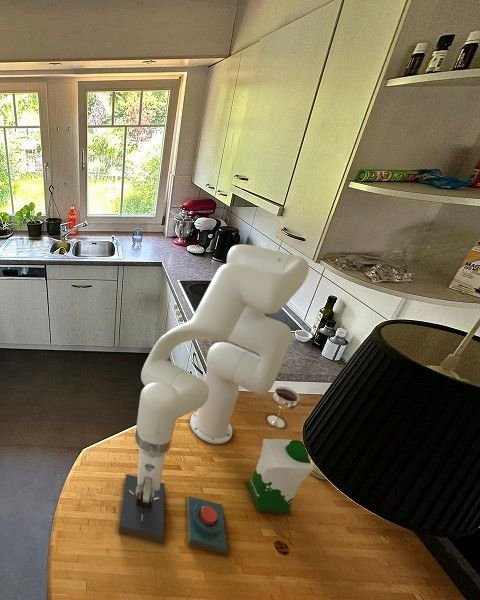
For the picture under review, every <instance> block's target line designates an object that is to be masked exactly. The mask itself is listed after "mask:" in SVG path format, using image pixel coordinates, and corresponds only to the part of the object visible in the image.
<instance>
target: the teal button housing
mask: <svg viewBox="0 0 480 600" xmlns="http://www.w3.org/2000/svg"><path fill="white" fill-rule="evenodd" d="M186 504H187V505H186V506H187V507H186V508H187V512H186V513H187V539H188V540H187V543H188V545H190V546H194V547H198V548H201V549H205V550H208V551H212V552H215V553H219V554H222V555H227V551H228V543H227V534H226V528H225V527H226V525H225V519H224V510H223V504H221V503H217V502H213V501H210V500H209V501H208V500H205V499H200V498H197V497H192V496H188V497H187V500H186ZM204 506H210V507H212V508H213V509H214V510H215V511H216V513H217V520H216V523H215V524H214V525H213V526H208V525H206V524H204V523H203V522H202V520H201V518H200V512H201V509H202V507H204Z"/></svg>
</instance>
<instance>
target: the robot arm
mask: <svg viewBox="0 0 480 600" xmlns="http://www.w3.org/2000/svg"><path fill="white" fill-rule="evenodd" d="M309 270H310V265H309V263H308V261H307V260H306V259H305V258H304V257H301V256H299V255H295V254H291V253H287V252H282V251H278V250H274V249H271V248H266V247H261V246H257V245H253V244H252V245H251V244H244V243H243V244H235V245H233V246H231V247H230V249H228V252H227V255H226V263H224V264H222V265H221V266H220V267H218V269H217V271H216V272H215V273H214V276H213V278H212V279H211V280H210V281H211V282H210V283H209V285H208V287H207V288H206V290H205V292H204V294H203V296H202V298H201V300H200V301H199V304H198V306H197V308H196V310H195V311H194V313H193V315H192V316H191V318H190V319H189V320H187V321H186V322H184V323H182V324H181V323H180V324H179V325H176V326H175V327H173V328H171V329H170V330H167V332H166V333H164V334H163V335H161V336H160V337H159V339H158V340H157V341H156V343H155V344H154V345H153V347H152V349H151V351H150V352H149V354H148V356H147V358H146V360H145V362H144V364H143V367H142V370H141V373H140V380H141V382H142V384H143V385H144V387H143V388H142V389H141V392H140V396H139V405H138V412H137V420H136V425H135V426H136V427H135V435H134V441H135V444H136V446H137V447H138V448H139V449H138V460H137V477H138V485H139V486H140V491H139V493H138V496H137V503H136V505H137V506H138V507H141V508H142V509H151V505H152V500H153V496H152V494H153V489H154V490H156V491H158V490H159V489H160V483H161V482H162V477H163V470H164V464H165V455H166V454H168V452H169V451H170V449H171V446H172V441H173V438H174V437H173V436H174V433H175V432H174V431H175V427H176V421H177V420H178V419H180V418H182V417H184V416H186V415H188V414H191V413H192V412H194V413H192V415H191V417H190V420H189V426H190V429H191V430H192V432H193V433H194V434H195V435H196V436H197V437H198V438H199V439H201V440H203V441H204V442H207V443H210V444H213V445H222V444H226V443H228V442H229V441H230V440H231V439H232V437H233V436H232V435H233V427H232V424H231V419H232V416H233V413H234V410H235V407H236V403H237V401H238V398H239V394H240V387H241V388H244V389H245V390H248V391H249V392H252V393H253V394H256V395H265V394H267V393H269V391H271V389H272V388H273V386H274V384H275V382H276V380H277V377H278V374H279V373H280V369H281V367H282V364H283V362H284V359H285V356H286V354H287V352H288V349H289V346H290V343H291V340H292V330H291V327H290V326H288V325H287V324H286V323H285V322H282V321H281V320H277V319H275V318H272V317H269V316H267V315H273V314H276V313H278V312H280V311H281V310H282V309H283V308H284V307H285V306H286V305H287V304H288V302H289V301H291V299H292V298H293V296H294V295H296V293H297V292H299V290H300V289H301V288H302V287H303V285H304V284H305V282H306V281H307V278H308V275H309V272H310V271H309ZM266 314H267V315H266ZM199 340H201V341H218V342H215V343H214V344H212V345H211V346H210V348H209V349H208V351H207V354H206V372H205V379H204V380H203V379H202V378H201V377H198V376H197V375H195V374H193V373H192V372H189V371H187V370H186V369H184V368H182V367H180V366H178V365H177V364H174V363H173V362H171V361H169V360H167V359H168V357H169V356H170V354H171V353H172V352H173V350H174V349H175V348H176V347H178V346H180V345H181V344H183V343H186V342H191V341H199ZM225 340H228V341H230V342H232V343H230V342H225ZM236 344H237V345H238V346H237V345H236ZM240 346H241V347H240ZM242 347H243V348H242ZM244 348H246V349H244ZM247 349H248V350H247ZM249 350H250V351H249ZM251 351H252V352H251ZM254 352H255V353H254ZM258 354H259V355H258ZM196 410H197V411H196ZM144 479H145V483H144ZM143 487H144V493H143V492H142V488H143Z"/></svg>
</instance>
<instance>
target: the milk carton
mask: <svg viewBox="0 0 480 600" xmlns="http://www.w3.org/2000/svg"><path fill="white" fill-rule="evenodd" d="M303 443H304V442H302V441H301V440H298V439H283V438H282V439H281V438H263V440H262V446H261V452H260V457H259V458H258V461H257V464H256V467H255V469H254V472H253V474H252V477H251V478H250V480H249V481H248V483H247V486H248V488H249V492H250V494H251V496H252V498H253V501H254V503H255V505H256V508H257V511H258V512H264V513H281V514H289V511H290V508H291V506H292V502H293V501H294V499H295V496H296V494H297V493H298V491H299V490H300V487H301V485H302V483H303V481H304V480H305V479H306V478H307V477H308V476H309V475H310V474H312V473H311V472H312V470H313V469H314V468H313V466H312V465H311V462H310V459H309V455H308V453H307V451H306V449H305V446H304V444H305V443H304V444H303Z"/></svg>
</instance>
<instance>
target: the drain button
mask: <svg viewBox="0 0 480 600" xmlns="http://www.w3.org/2000/svg"><path fill="white" fill-rule="evenodd" d="M200 518H201V520H202V522H203V523H204V524H206V525H208V526H213V525H214V524H215V523H216V520H217V513H216V511H215V510H214V509H213V508H212V507H210V506H204V507H202V509H201V512H200Z"/></svg>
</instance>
